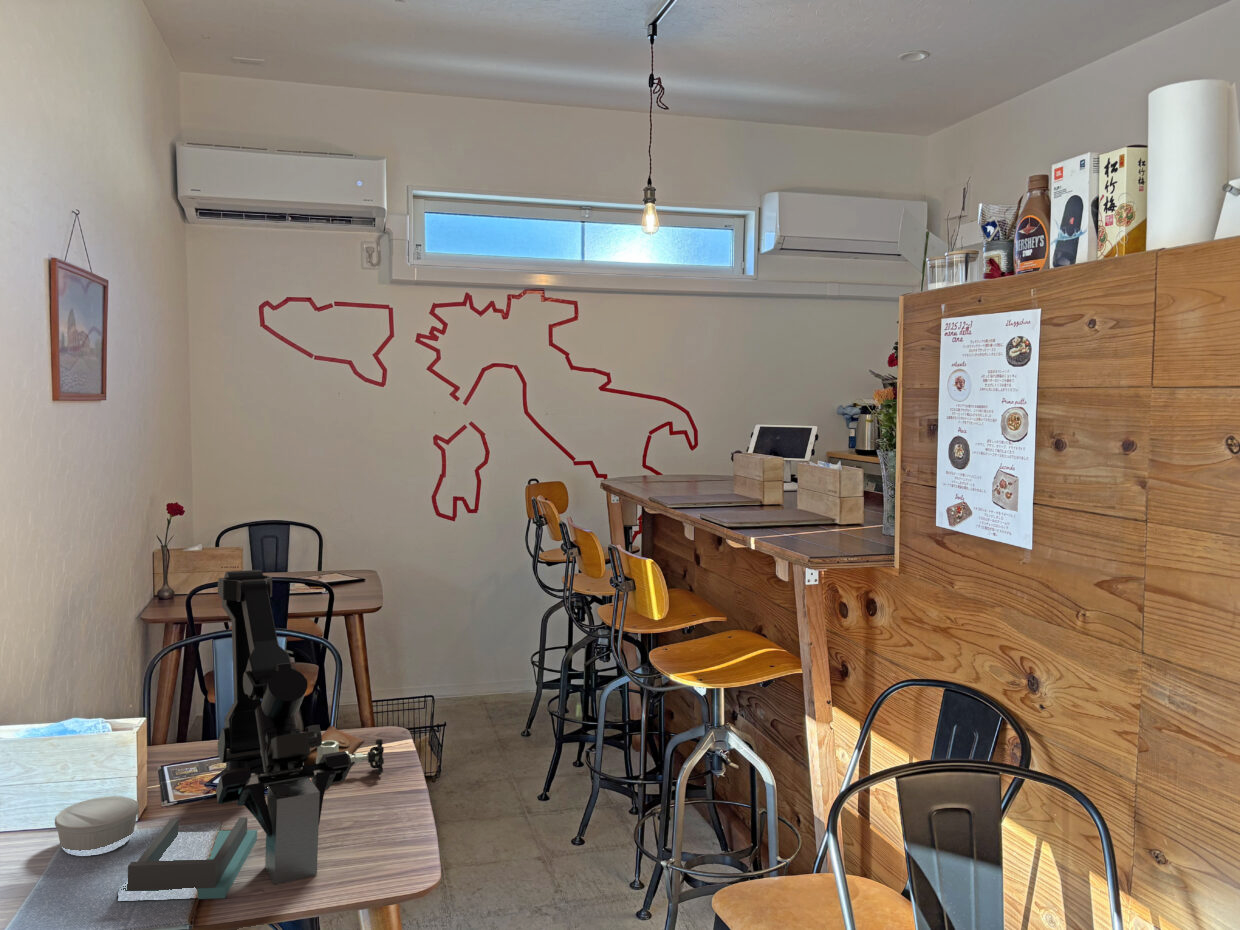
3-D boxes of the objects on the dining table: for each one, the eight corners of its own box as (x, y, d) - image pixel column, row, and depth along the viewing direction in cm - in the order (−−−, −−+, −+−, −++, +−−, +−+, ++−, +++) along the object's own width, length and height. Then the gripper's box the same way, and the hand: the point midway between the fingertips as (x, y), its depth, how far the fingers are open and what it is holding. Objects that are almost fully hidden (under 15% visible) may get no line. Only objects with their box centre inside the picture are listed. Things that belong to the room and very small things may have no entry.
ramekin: (40, 862, 133) (41, 827, 132) (74, 829, 144) (74, 796, 144) (121, 860, 134) (122, 825, 134) (148, 827, 145) (149, 795, 145)
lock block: (265, 866, 134) (267, 784, 133) (306, 857, 137) (309, 777, 137) (274, 884, 129) (277, 799, 128) (316, 875, 132) (319, 791, 132)
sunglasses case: (345, 772, 171) (328, 742, 170) (313, 790, 170) (295, 760, 170) (366, 739, 189) (350, 712, 188) (336, 756, 188) (320, 729, 188)
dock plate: (163, 841, 140) (164, 810, 140) (257, 839, 143) (257, 808, 142) (116, 902, 123) (117, 866, 122) (224, 898, 125) (225, 862, 125)
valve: (316, 786, 164) (383, 779, 169) (317, 750, 164) (384, 744, 168) (314, 772, 170) (379, 766, 175) (315, 738, 170) (380, 733, 175)
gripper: (221, 717, 130) (234, 821, 121) (350, 700, 141) (370, 794, 132) (211, 753, 137) (222, 853, 128) (334, 734, 147) (352, 826, 139)
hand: (294, 831), depth 132 cm, fingers closed on lock block, 6 cm apart
